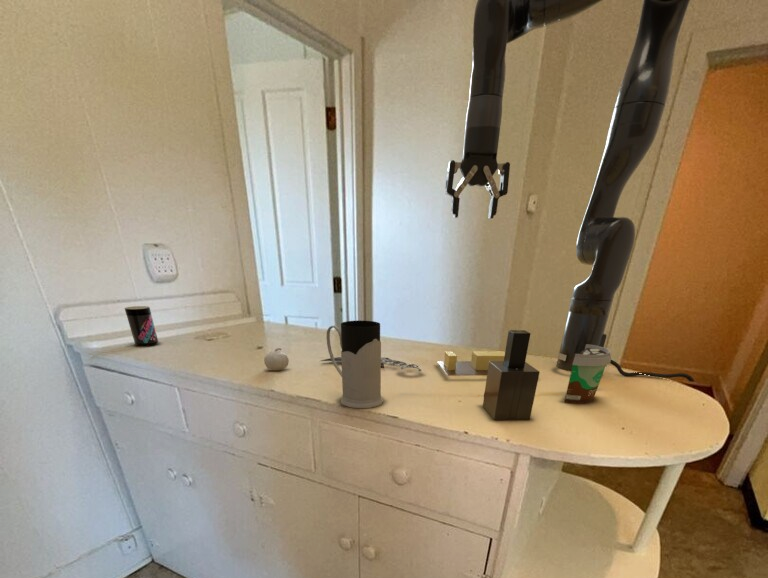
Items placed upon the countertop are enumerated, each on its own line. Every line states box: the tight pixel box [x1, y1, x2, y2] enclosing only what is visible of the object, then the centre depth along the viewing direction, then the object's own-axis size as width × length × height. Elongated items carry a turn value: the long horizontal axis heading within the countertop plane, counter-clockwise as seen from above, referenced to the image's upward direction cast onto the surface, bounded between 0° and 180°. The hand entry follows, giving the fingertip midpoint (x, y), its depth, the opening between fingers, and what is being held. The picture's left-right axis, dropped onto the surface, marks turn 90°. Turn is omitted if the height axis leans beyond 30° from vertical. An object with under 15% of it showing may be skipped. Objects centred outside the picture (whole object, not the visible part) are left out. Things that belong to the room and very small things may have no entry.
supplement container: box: [124, 305, 159, 347], centre depth 129 cm, size 7×7×10 cm
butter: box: [470, 350, 505, 370], centre depth 108 cm, size 10×5×4 cm, turn 94°
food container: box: [563, 344, 612, 404], centre depth 89 cm, size 12×6×10 cm, turn 148°
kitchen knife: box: [503, 329, 531, 370], centre depth 80 cm, size 3×4×15 cm
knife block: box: [482, 361, 541, 421], centre depth 81 cm, size 7×8×9 cm
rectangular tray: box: [437, 360, 488, 377], centre depth 109 cm, size 22×14×1 cm, turn 94°
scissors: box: [320, 356, 423, 372], centre depth 112 cm, size 28×2×10 cm
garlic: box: [263, 347, 290, 372], centre depth 108 cm, size 6×5×5 cm
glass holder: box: [326, 320, 384, 409], centre depth 86 cm, size 9×14×15 cm, turn 47°
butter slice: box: [443, 350, 458, 370], centre depth 107 cm, size 2×5×4 cm, turn 4°
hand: (473, 218), depth 101 cm, fingers open, 8 cm apart
